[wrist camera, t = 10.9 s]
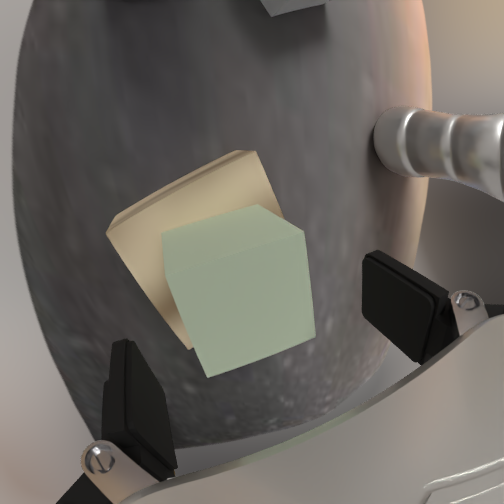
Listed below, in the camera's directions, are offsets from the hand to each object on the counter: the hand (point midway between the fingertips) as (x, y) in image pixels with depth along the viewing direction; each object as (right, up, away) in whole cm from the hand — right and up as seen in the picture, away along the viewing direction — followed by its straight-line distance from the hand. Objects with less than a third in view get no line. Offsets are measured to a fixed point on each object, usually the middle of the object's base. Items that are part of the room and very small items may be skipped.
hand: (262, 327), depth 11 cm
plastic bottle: (+13, +14, +14) cm, 23 cm away
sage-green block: (-2, +2, +8) cm, 8 cm away
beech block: (-4, +4, +12) cm, 13 cm away
